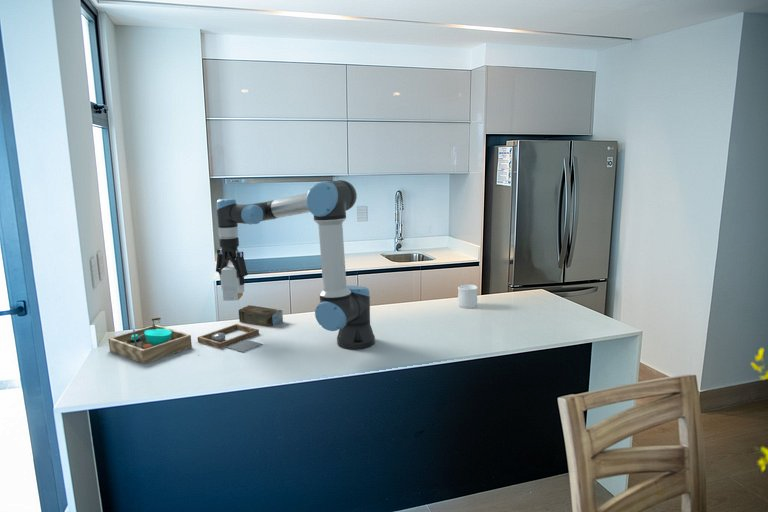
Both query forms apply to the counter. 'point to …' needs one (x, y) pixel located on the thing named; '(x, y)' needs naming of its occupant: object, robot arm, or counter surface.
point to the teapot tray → (153, 353)
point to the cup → (467, 296)
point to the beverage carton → (260, 316)
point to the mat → (244, 345)
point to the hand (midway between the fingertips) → (232, 290)
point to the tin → (218, 337)
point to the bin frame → (206, 339)
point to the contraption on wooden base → (151, 337)
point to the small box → (230, 284)
